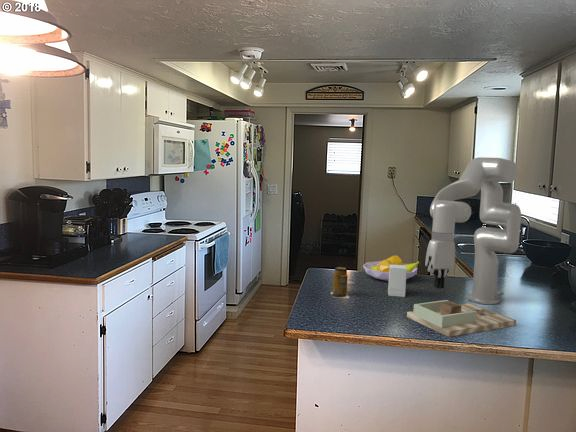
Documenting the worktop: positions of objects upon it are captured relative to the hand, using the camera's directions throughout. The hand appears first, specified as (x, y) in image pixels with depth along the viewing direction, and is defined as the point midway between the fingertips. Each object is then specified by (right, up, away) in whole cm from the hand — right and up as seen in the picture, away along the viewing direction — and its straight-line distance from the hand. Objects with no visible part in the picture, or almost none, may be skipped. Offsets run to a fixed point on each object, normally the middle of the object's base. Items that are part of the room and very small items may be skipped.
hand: (438, 287), depth 174 cm
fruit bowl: (-3, -6, +69) cm, 69 cm away
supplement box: (-6, -9, +41) cm, 42 cm away
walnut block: (+6, -12, +4) cm, 14 cm away
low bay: (+3, -12, +3) cm, 12 cm away
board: (+10, -14, +7) cm, 18 cm away
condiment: (-32, -9, +37) cm, 49 cm away
